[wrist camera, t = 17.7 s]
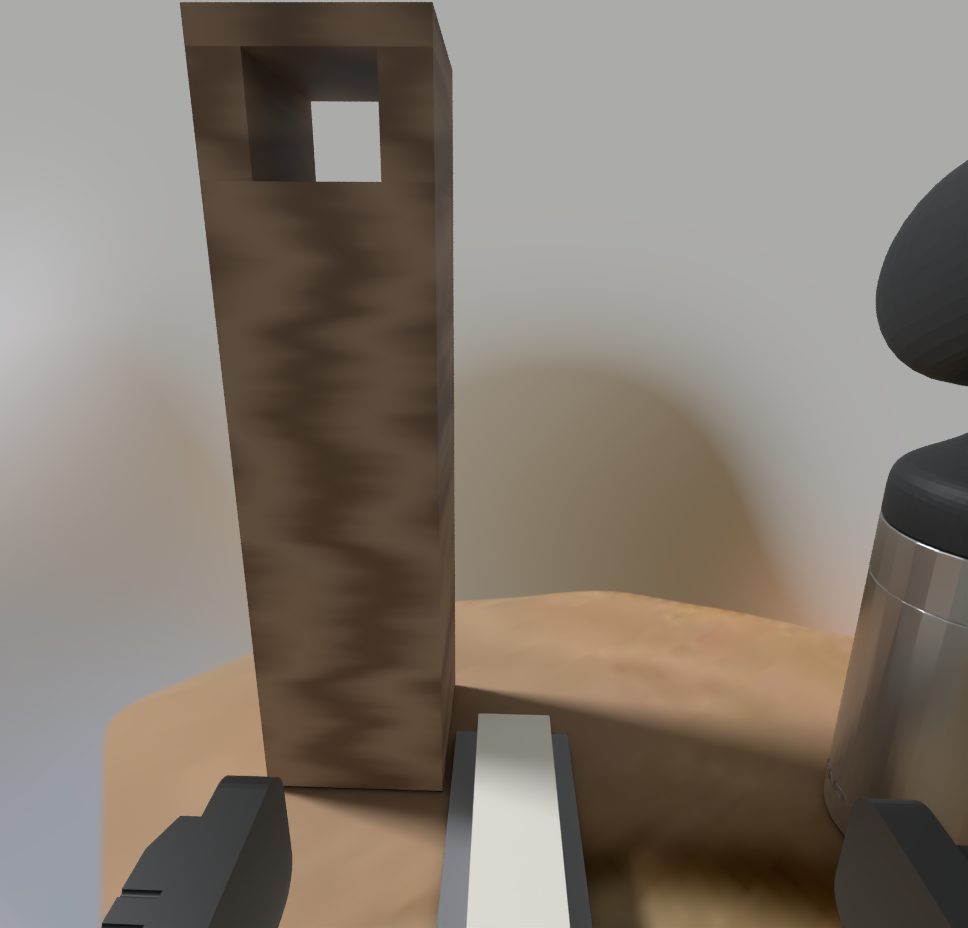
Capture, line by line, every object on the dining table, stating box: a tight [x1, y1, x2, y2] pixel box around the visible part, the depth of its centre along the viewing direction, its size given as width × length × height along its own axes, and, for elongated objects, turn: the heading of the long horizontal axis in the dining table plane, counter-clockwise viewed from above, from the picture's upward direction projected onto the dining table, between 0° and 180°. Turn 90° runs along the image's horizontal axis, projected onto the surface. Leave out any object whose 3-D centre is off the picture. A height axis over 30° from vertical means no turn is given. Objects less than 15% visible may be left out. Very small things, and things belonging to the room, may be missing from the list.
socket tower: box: [180, 2, 455, 791], centre depth 36 cm, size 10×10×38 cm
